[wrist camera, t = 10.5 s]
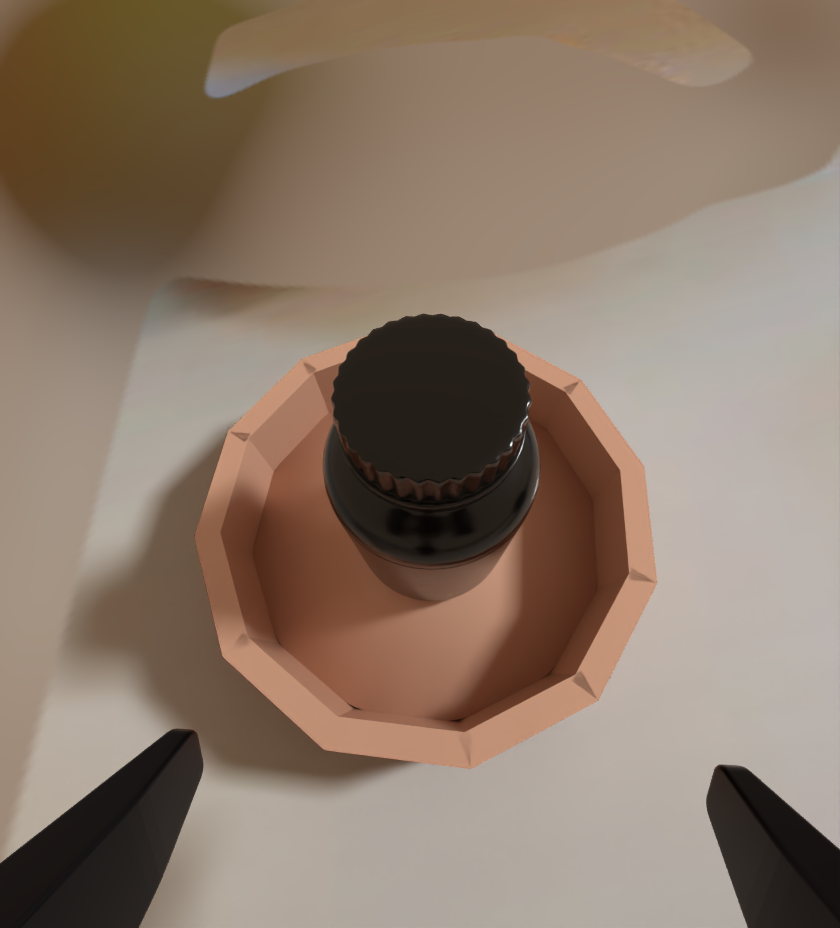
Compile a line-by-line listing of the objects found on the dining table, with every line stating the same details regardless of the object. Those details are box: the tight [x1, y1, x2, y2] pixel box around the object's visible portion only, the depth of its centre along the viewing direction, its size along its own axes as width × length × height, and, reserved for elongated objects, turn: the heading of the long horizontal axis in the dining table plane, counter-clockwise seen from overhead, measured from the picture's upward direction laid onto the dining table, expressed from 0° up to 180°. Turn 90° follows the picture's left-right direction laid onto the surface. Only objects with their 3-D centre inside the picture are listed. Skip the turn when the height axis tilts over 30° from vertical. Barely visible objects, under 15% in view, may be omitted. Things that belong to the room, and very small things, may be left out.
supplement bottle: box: [322, 314, 541, 601], centre depth 16 cm, size 7×7×12 cm
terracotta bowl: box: [194, 334, 657, 769], centre depth 20 cm, size 18×18×4 cm
